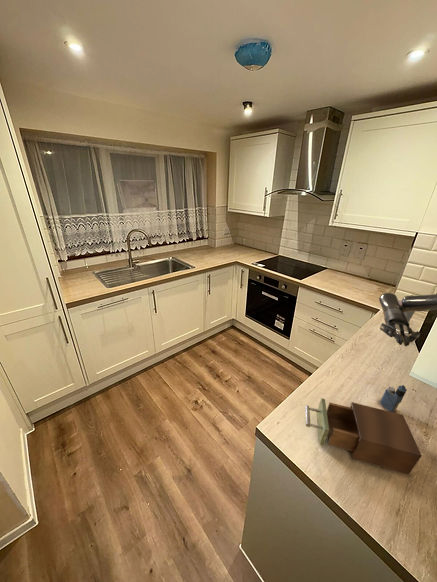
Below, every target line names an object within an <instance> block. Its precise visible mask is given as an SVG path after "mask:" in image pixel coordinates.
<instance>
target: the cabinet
mask: <svg viewBox="0 0 437 582" xmlns="http://www.w3.org/2000/svg"><path fill="white" fill-rule="evenodd" d="M349 407H350V408H352V410H353V414H354V417H355V421H356V425H357V429H358V433H359V437H360V438H359V441H358V443H357V445H356V447H355V449H354V451H350V455H351V458H352V459H353V460H357V461H361V462H364V463H368V464H371V465H374V466H378V467H381V468H384V469H388V470H392V471H394V472H397V473H401V474H405V475H408V476H409V475H410V474H411V472H412V471H413V469H414V468H415V467H416V465H417V463H418V462H419V461H420V460H421V458H422V456H423V455H422V453H421V450H420V448H419V446H418V444H417V443H416V439H415V438H414V436H413V433H412V432H411V429H410V427H409V425H408V423H407V421H406V419H405V415H404V414H401V413H399V412H390V411H388V410H387V409H382V408H377V407H373V406H370V405H366V404H361V403H357V402H353V401H352V402H350V405H349Z"/></svg>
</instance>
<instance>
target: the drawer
mask: <svg viewBox="0 0 437 582" xmlns="http://www.w3.org/2000/svg"><path fill="white" fill-rule="evenodd" d="M311 411H312V412H316V420H317V424H315V423H314V424H313V423H311V413H310V412H311ZM304 415H305V417H304V418H305V427H307V428H311V427H312V428H314V429H315V428H316V429H317V431H318V433H317V434H318V442H319V443H318V445H319V446H323V447H324V446H325V444H326V440H327V444H328V445H330V446H333V447H335V448H339V449H342V450H347V451H350V452H351V451H354V449H355V447H356V445H357V443H358V441H359V438H360V437H359V433H358V429H357V425H356V421H355V417H354V414H353V410H352V408H350V406H345V405H341V404H339V403H338V404H337V403H334V402H331V401H329V403H328V406H327V404H326V398H322V397H321V398H320V401H319V403H318V407H317V408H314V407H310V406H309V405H304Z"/></svg>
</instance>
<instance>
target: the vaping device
mask: <svg viewBox="0 0 437 582" xmlns="http://www.w3.org/2000/svg"><path fill="white" fill-rule="evenodd" d="M406 393H407V387H406V386H405V385H404V384H402V385H398V386H397V388H396V389H395V388H394V387H393V386H388V387H387V388H385V390H384V392H383V395H382V397H381V399H380V401H379V402H380V405H381V406H382V407H383V408H384V409H385V410H386V411H390V412H394V413H396V410H397V409H398V407H399V406H400V405H399V404H400V403H402V401H403V399H404V397H405V395H406Z"/></svg>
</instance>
